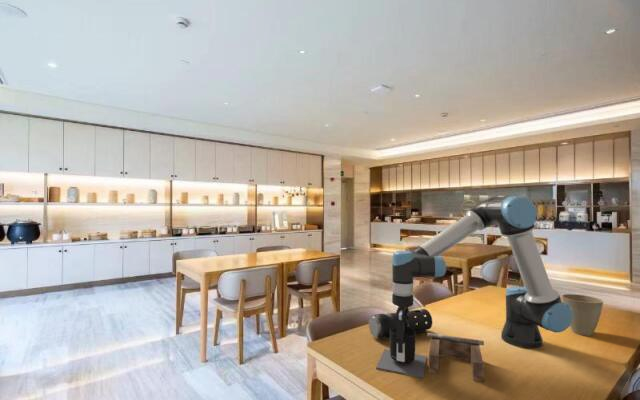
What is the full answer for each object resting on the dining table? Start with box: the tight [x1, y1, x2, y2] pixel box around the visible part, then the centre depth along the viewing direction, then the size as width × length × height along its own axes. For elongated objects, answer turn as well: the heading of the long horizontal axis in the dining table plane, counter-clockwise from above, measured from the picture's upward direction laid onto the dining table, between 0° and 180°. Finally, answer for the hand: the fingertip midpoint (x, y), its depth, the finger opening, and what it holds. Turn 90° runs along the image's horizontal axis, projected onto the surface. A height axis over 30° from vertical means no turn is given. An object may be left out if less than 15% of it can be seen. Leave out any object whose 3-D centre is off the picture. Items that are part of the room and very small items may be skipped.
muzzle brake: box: [368, 308, 433, 339], centre depth 147 cm, size 10×28×10 cm, turn 111°
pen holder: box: [389, 327, 417, 363], centre depth 121 cm, size 9×9×10 cm
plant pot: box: [561, 293, 604, 337], centre depth 152 cm, size 15×15×16 cm
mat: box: [375, 348, 427, 379], centre depth 121 cm, size 16×16×1 cm
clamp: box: [426, 332, 485, 383], centre depth 120 cm, size 20×17×8 cm
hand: (402, 355), depth 121 cm, fingers closed on pen holder, 9 cm apart
